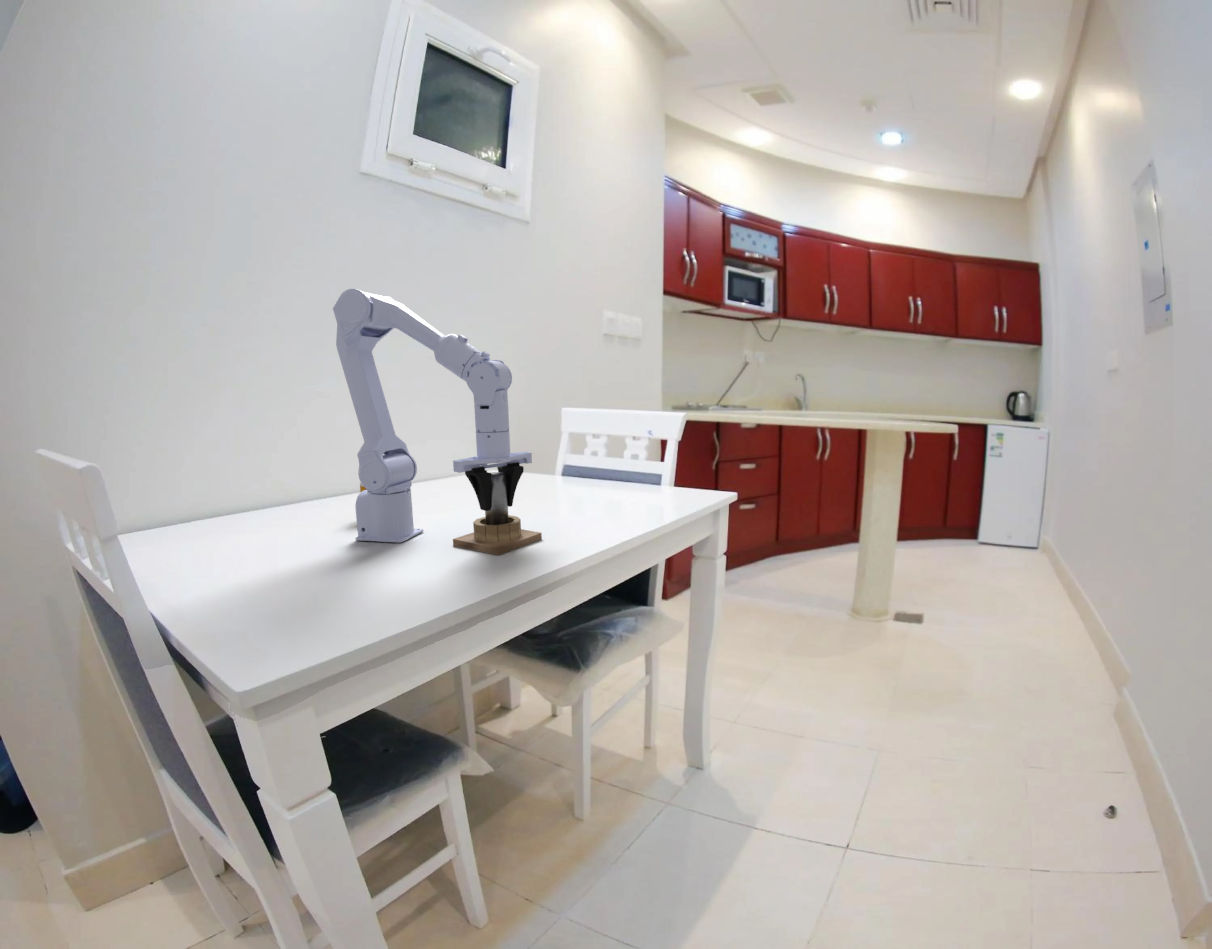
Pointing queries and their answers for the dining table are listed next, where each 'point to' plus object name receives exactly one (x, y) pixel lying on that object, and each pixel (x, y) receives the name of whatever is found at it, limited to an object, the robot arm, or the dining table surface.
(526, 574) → the dining table surface
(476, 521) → the socket block
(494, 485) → the steel pin
